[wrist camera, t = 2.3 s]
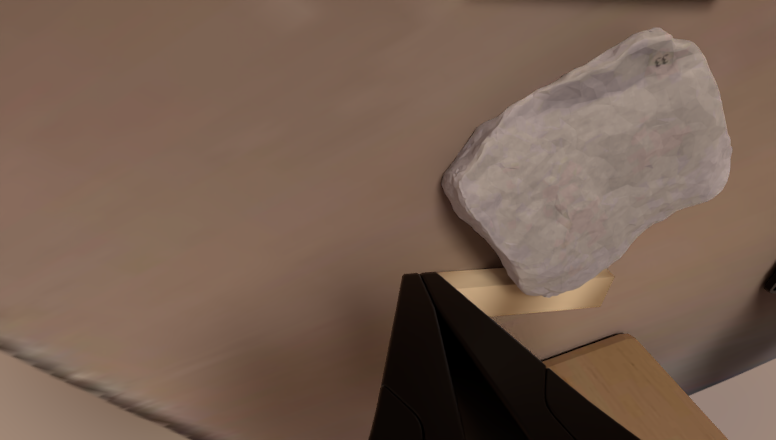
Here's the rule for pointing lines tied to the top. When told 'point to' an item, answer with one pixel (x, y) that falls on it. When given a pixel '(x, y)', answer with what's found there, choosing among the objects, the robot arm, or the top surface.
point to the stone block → (593, 161)
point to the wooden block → (633, 390)
